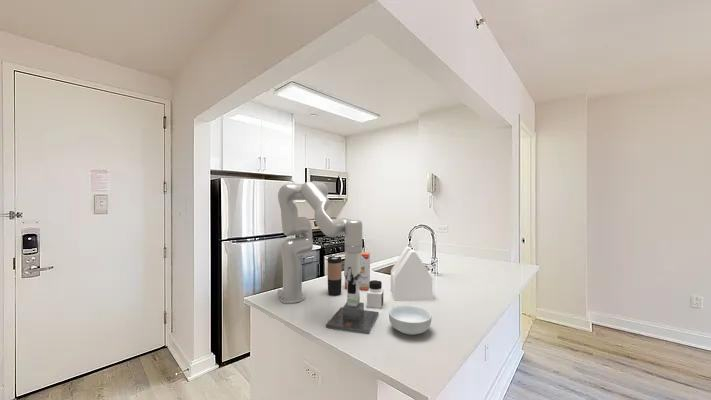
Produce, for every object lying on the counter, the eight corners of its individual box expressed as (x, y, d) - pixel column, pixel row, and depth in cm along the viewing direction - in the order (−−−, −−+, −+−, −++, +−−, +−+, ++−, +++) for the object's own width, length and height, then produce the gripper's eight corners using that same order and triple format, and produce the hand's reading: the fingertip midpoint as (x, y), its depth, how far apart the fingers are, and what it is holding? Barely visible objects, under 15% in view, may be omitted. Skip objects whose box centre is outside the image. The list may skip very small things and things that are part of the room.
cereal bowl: (423, 345, 101) (423, 326, 101) (381, 333, 110) (381, 315, 109) (436, 327, 115) (436, 309, 115) (399, 317, 124) (399, 301, 124)
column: (345, 309, 119) (345, 276, 118) (349, 305, 124) (349, 273, 123) (357, 311, 117) (357, 277, 117) (361, 306, 122) (360, 273, 122)
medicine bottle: (381, 308, 134) (381, 283, 134) (367, 307, 135) (367, 282, 135) (383, 303, 141) (383, 279, 141) (369, 301, 142) (369, 278, 142)
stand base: (325, 327, 114) (325, 310, 114) (341, 310, 132) (340, 295, 132) (368, 334, 109) (368, 316, 109) (378, 315, 126) (378, 299, 126)
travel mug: (330, 297, 149) (330, 259, 148) (325, 292, 156) (325, 256, 155) (343, 294, 152) (343, 258, 152) (338, 290, 159) (338, 255, 159)
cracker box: (344, 289, 161) (344, 253, 161) (346, 286, 167) (346, 251, 166) (368, 290, 159) (368, 254, 158) (370, 287, 165) (370, 251, 164)
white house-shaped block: (424, 290, 160) (424, 246, 159) (432, 300, 144) (432, 252, 144) (390, 290, 159) (390, 246, 159) (395, 300, 144) (395, 252, 143)
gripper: (351, 245, 129) (351, 284, 129) (338, 252, 113) (338, 297, 113) (367, 246, 127) (366, 286, 127) (356, 253, 111) (356, 299, 111)
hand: (353, 291), depth 120 cm, fingers closed on column, 4 cm apart
